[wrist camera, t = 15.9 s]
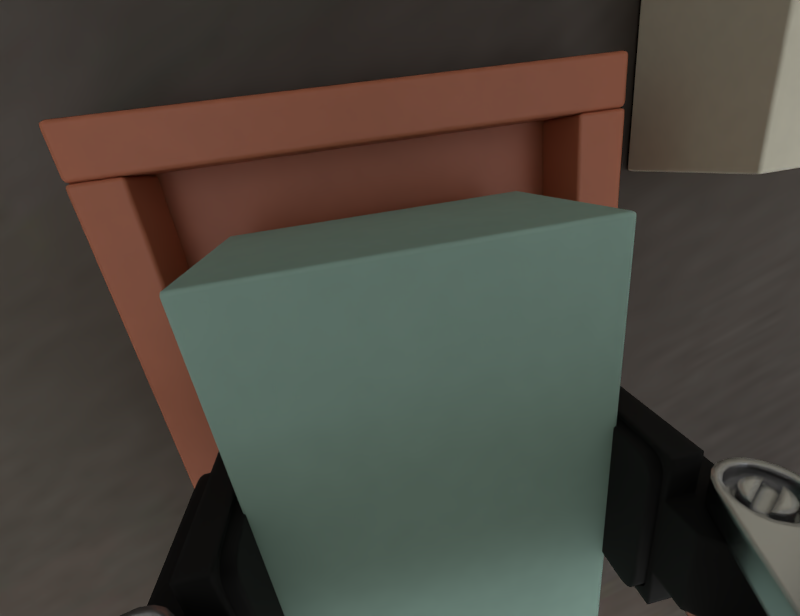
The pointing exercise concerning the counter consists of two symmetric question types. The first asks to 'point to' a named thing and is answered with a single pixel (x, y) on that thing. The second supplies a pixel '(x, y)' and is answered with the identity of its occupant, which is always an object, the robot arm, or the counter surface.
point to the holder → (319, 176)
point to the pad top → (717, 87)
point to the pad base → (419, 401)
